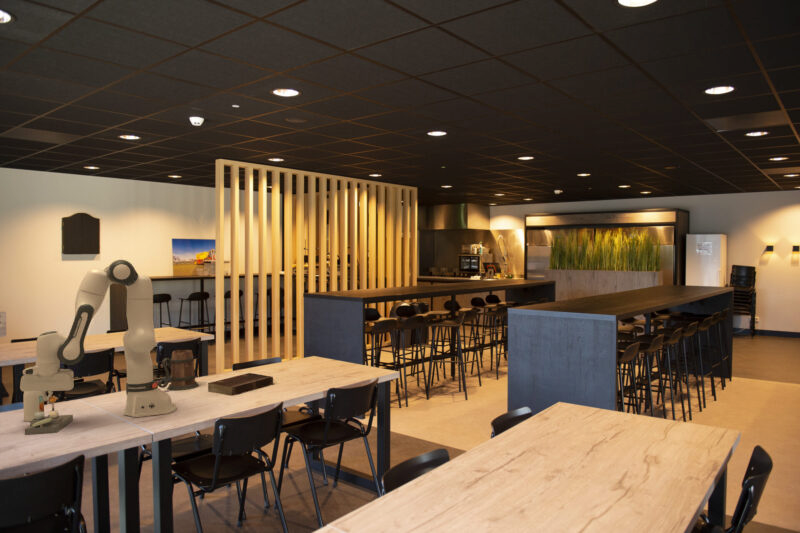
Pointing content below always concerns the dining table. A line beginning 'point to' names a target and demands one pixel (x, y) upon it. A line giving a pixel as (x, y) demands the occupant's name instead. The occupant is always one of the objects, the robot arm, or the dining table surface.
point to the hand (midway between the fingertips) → (47, 400)
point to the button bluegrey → (39, 415)
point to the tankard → (179, 371)
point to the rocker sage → (42, 422)
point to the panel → (49, 425)
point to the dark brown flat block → (240, 384)
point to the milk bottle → (32, 404)
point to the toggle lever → (52, 402)
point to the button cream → (53, 414)
